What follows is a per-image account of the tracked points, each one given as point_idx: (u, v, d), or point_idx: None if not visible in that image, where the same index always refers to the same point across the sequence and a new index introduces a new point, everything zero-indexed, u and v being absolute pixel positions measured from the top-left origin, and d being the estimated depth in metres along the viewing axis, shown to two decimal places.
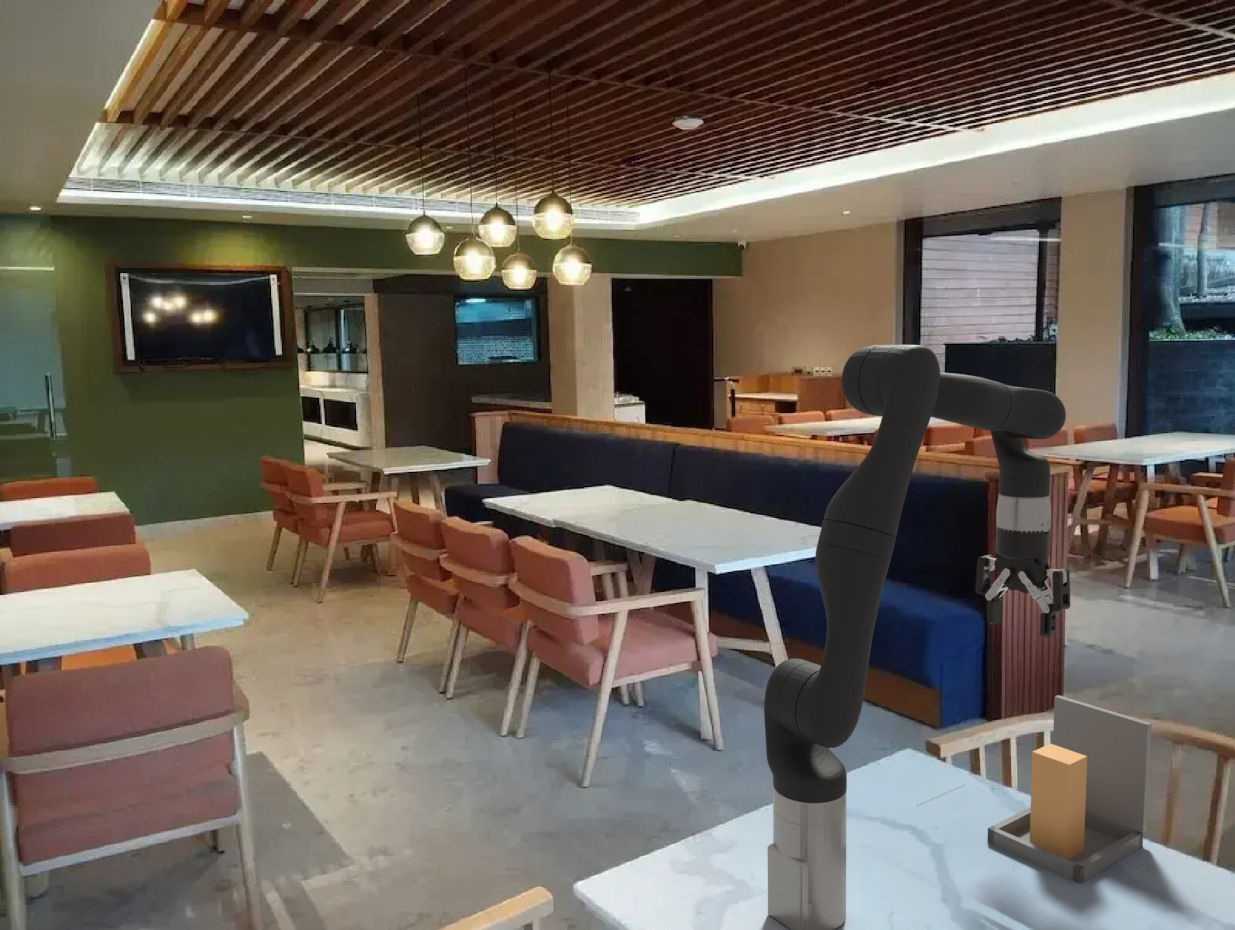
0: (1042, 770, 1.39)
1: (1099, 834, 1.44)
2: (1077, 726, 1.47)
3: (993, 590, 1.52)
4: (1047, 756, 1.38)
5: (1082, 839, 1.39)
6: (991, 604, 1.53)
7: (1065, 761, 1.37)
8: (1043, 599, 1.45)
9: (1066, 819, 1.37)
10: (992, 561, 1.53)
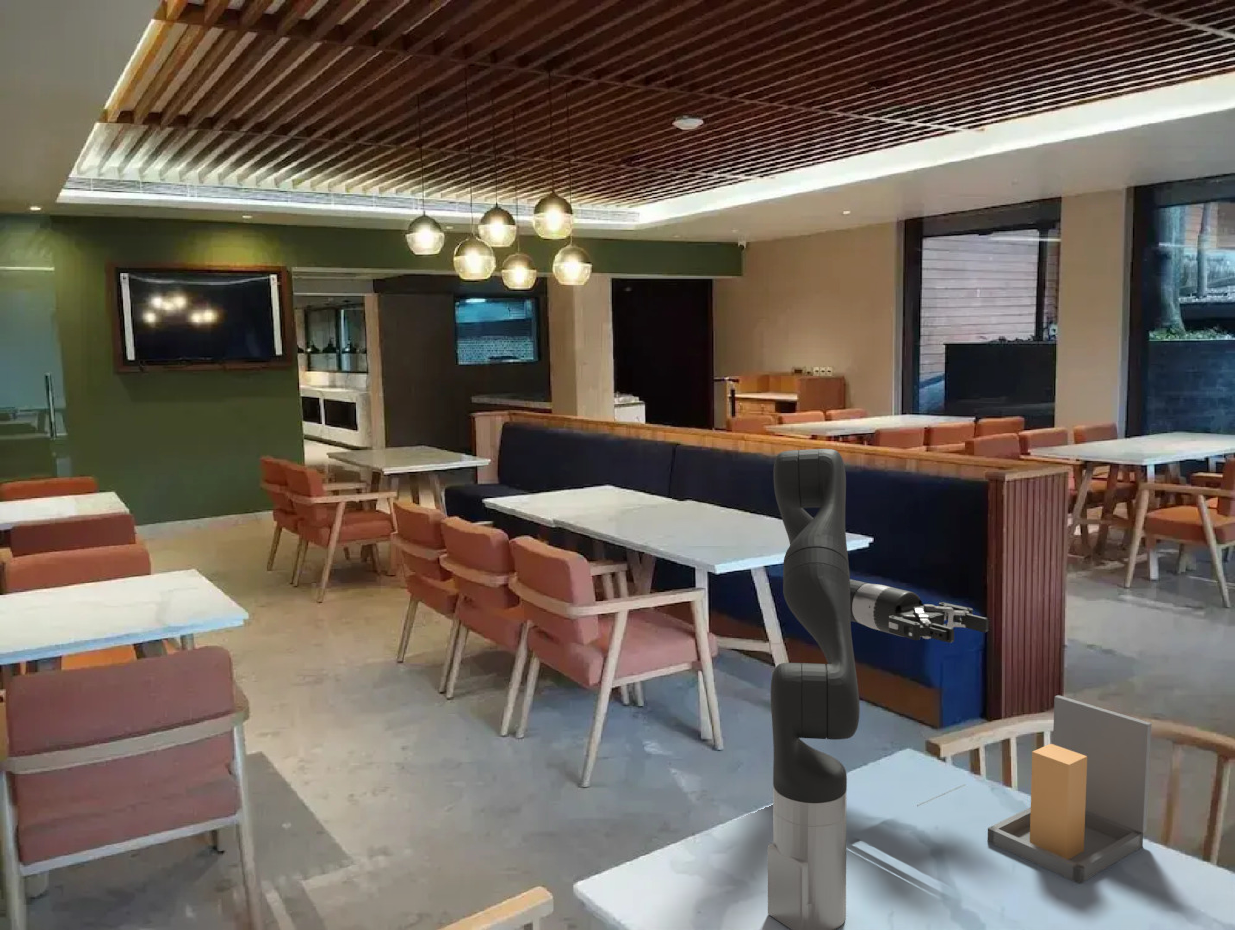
0: (1042, 770, 1.39)
1: (1099, 834, 1.44)
2: (1077, 726, 1.47)
3: (924, 619, 1.55)
4: (1047, 756, 1.38)
5: (1082, 839, 1.39)
6: (935, 624, 1.53)
7: (1065, 761, 1.37)
8: (956, 610, 1.60)
9: (1066, 819, 1.37)
10: None
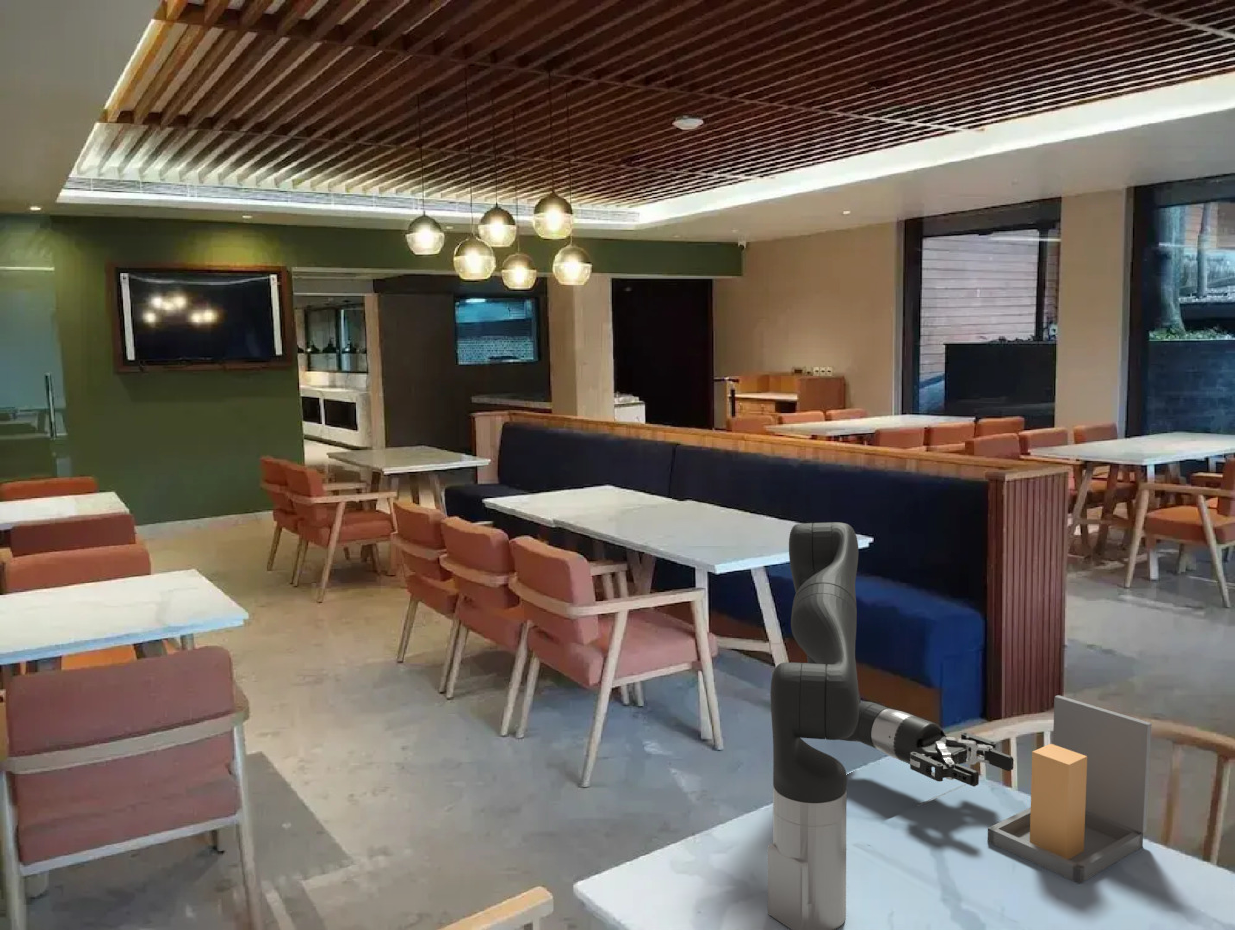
0: (1042, 770, 1.39)
1: (1099, 834, 1.44)
2: (1077, 726, 1.47)
3: (947, 758, 1.50)
4: (1047, 756, 1.38)
5: (1082, 839, 1.39)
6: (958, 765, 1.48)
7: (1065, 761, 1.37)
8: (979, 744, 1.55)
9: (1066, 819, 1.37)
10: None
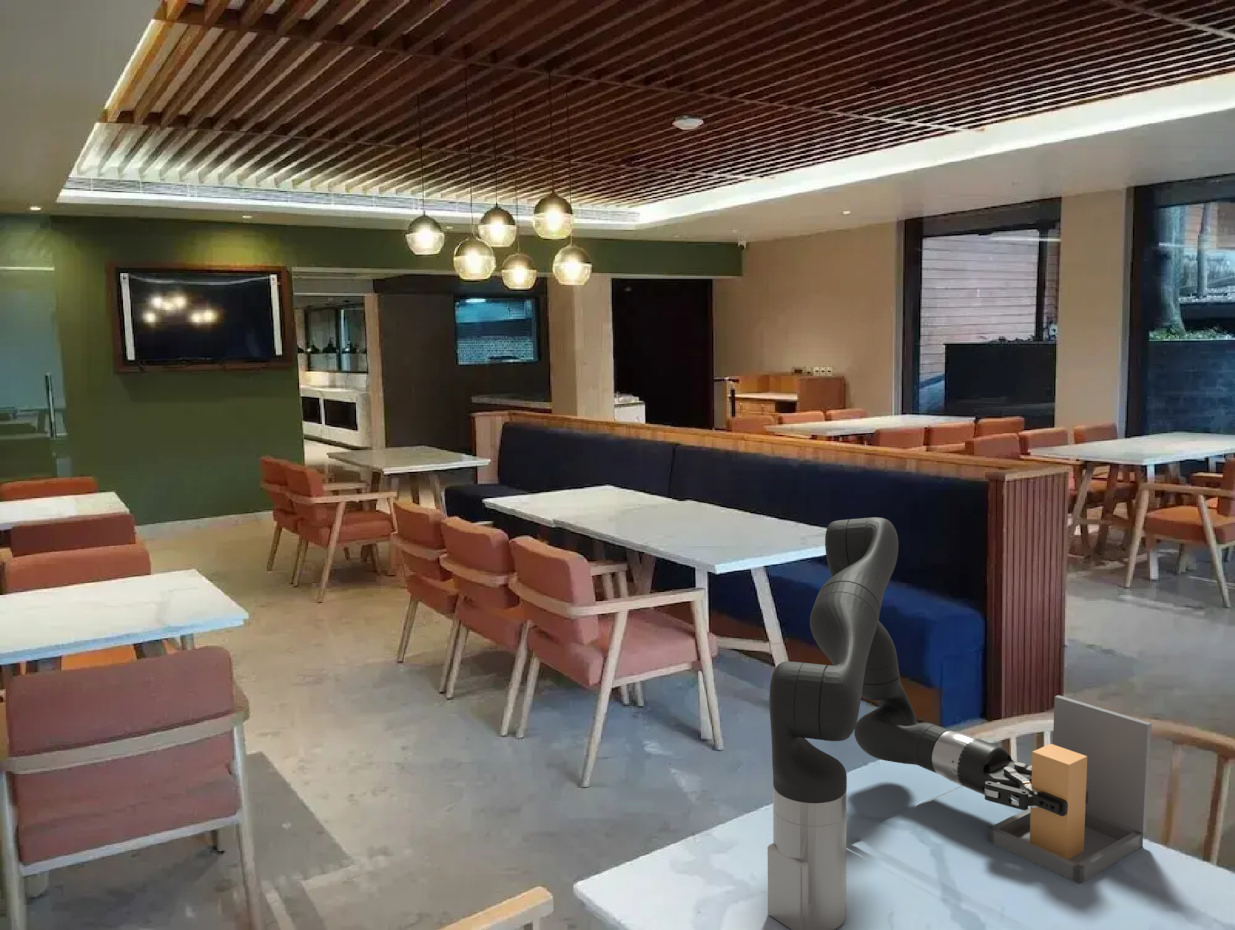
0: (1042, 770, 1.39)
1: (1099, 834, 1.44)
2: (1077, 726, 1.47)
3: (1028, 785, 1.41)
4: (1047, 756, 1.38)
5: (1082, 839, 1.39)
6: (1045, 792, 1.39)
7: (1065, 761, 1.37)
8: None
9: (1066, 819, 1.37)
10: None
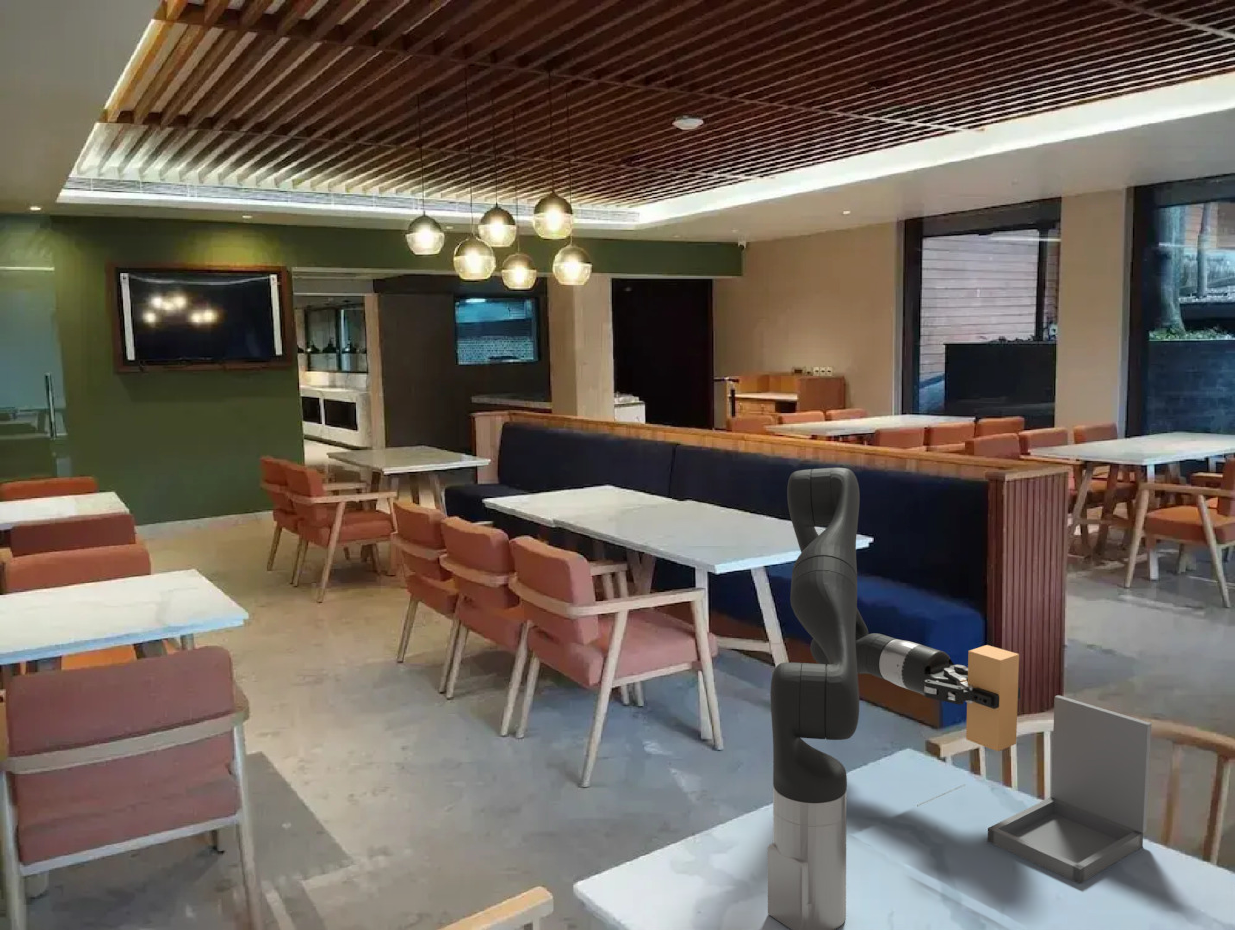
0: (977, 667, 1.48)
1: (1099, 834, 1.44)
2: (1077, 726, 1.47)
3: (964, 683, 1.50)
4: (982, 654, 1.47)
5: (1015, 733, 1.49)
6: (979, 688, 1.48)
7: (997, 657, 1.46)
8: None
9: (998, 712, 1.46)
10: None
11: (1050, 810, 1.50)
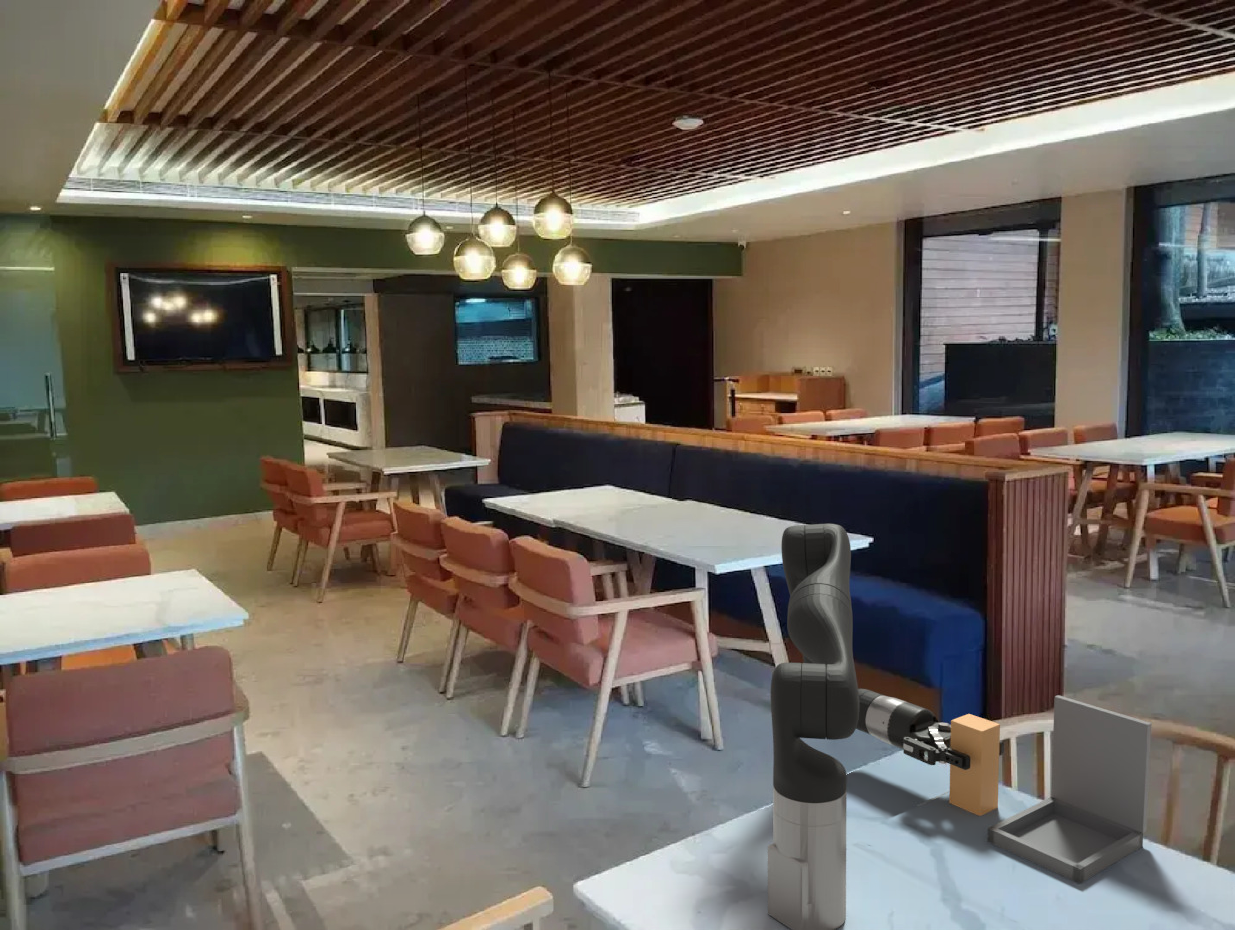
0: (960, 737, 1.52)
1: (1099, 834, 1.44)
2: (1077, 726, 1.47)
3: (939, 743, 1.54)
4: (964, 724, 1.51)
5: (996, 800, 1.53)
6: (951, 749, 1.52)
7: (979, 728, 1.50)
8: None
9: (980, 781, 1.50)
10: None
11: (1050, 810, 1.50)
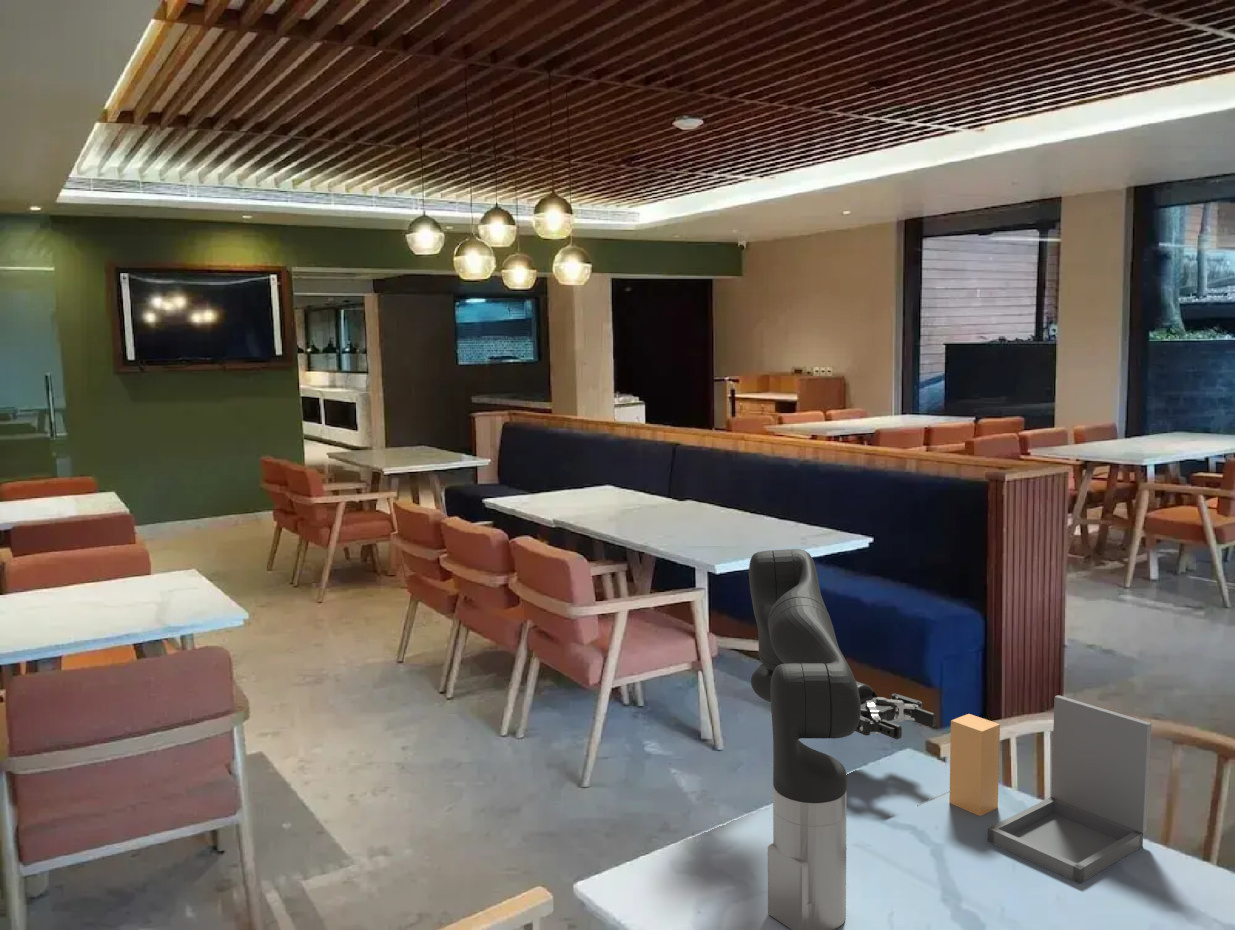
0: (960, 737, 1.52)
1: (1099, 834, 1.44)
2: (1077, 726, 1.47)
3: (875, 715, 1.64)
4: (964, 724, 1.51)
5: (996, 800, 1.53)
6: (884, 720, 1.62)
7: (979, 728, 1.50)
8: (906, 704, 1.69)
9: (980, 781, 1.50)
10: None
11: (1050, 810, 1.50)
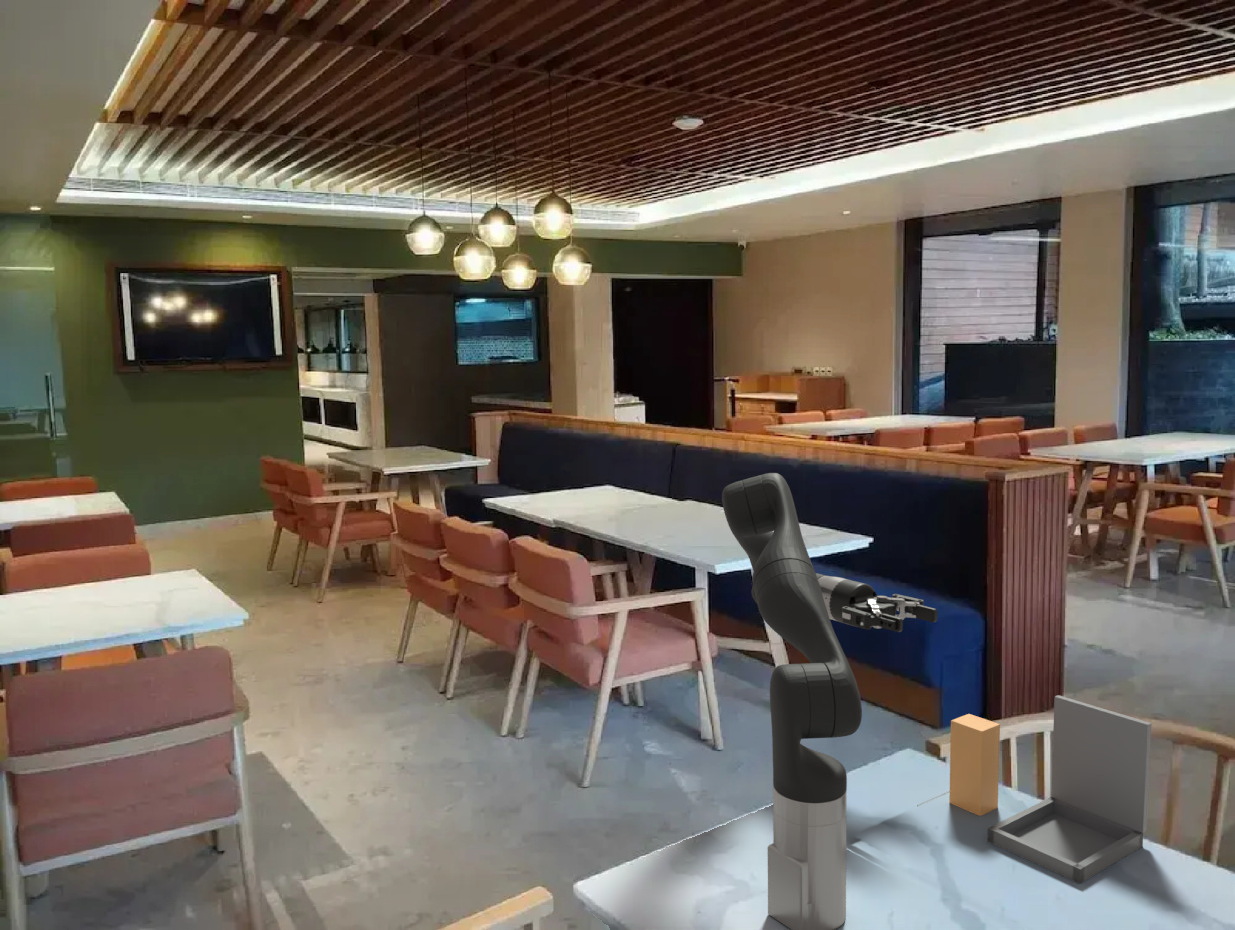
0: (960, 737, 1.52)
1: (1099, 834, 1.44)
2: (1077, 726, 1.47)
3: (875, 610, 1.62)
4: (964, 724, 1.51)
5: (996, 800, 1.53)
6: (885, 614, 1.60)
7: (979, 728, 1.50)
8: (907, 601, 1.67)
9: (980, 781, 1.50)
10: None
11: (1050, 810, 1.50)
